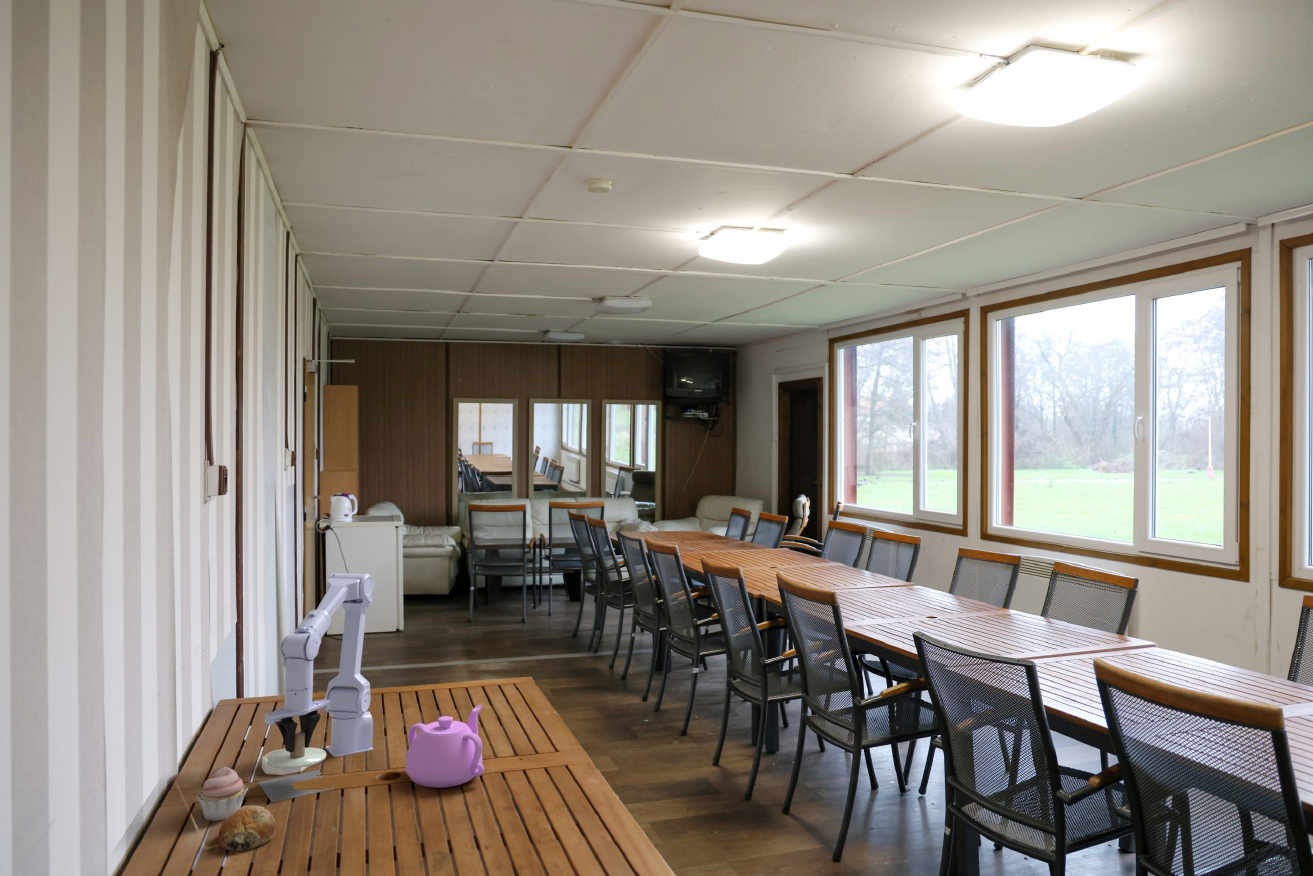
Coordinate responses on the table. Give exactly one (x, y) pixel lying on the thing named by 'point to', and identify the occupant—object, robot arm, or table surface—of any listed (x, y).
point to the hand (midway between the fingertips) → (297, 749)
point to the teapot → (445, 752)
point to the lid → (297, 755)
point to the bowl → (277, 771)
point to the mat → (288, 786)
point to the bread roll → (247, 829)
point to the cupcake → (221, 795)
